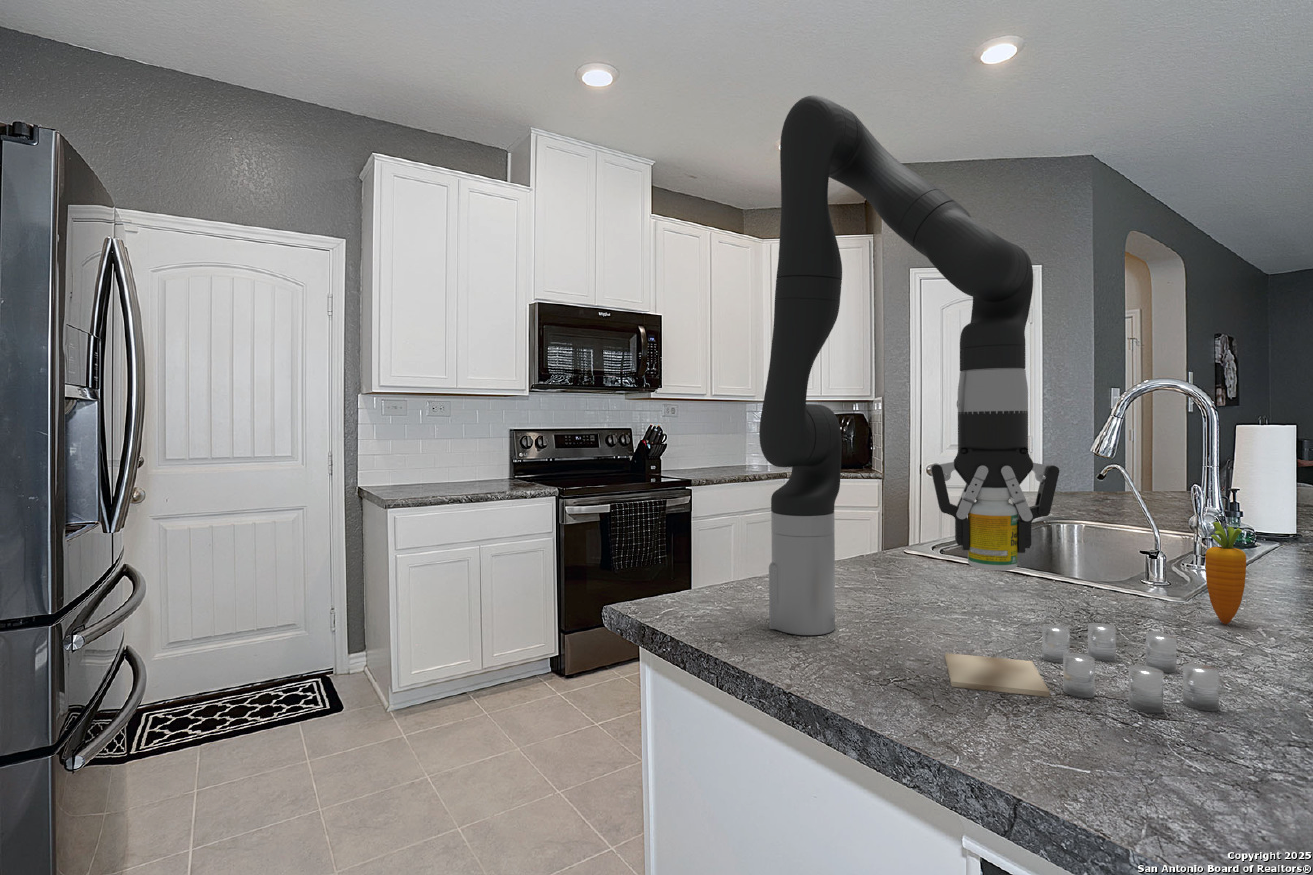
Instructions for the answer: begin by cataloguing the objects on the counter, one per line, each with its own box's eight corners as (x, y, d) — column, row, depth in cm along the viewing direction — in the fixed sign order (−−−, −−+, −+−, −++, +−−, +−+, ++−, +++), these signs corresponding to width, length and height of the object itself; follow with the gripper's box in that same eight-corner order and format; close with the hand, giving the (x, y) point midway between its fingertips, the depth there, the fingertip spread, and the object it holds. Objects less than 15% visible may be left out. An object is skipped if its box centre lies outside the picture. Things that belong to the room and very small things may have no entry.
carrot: (1254, 630, 97) (1255, 526, 97) (1212, 627, 99) (1213, 524, 98) (1237, 620, 102) (1238, 521, 101) (1197, 618, 103) (1198, 520, 103)
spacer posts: (1072, 704, 73) (1072, 667, 73) (1036, 647, 91) (1036, 618, 91) (1234, 722, 68) (1235, 682, 68) (1163, 658, 86) (1163, 627, 86)
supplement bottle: (967, 560, 85) (967, 483, 84) (1015, 563, 83) (1015, 484, 82) (968, 569, 80) (968, 487, 80) (1019, 573, 78) (1019, 489, 77)
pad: (951, 686, 78) (951, 681, 78) (944, 657, 88) (944, 652, 88) (1049, 697, 75) (1049, 691, 75) (1032, 665, 85) (1031, 660, 85)
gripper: (928, 409, 80) (929, 553, 80) (1069, 407, 75) (1069, 560, 75) (925, 410, 87) (926, 542, 87) (1053, 408, 82) (1053, 547, 82)
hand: (992, 549), depth 81 cm, fingers closed on supplement bottle, 5 cm apart
